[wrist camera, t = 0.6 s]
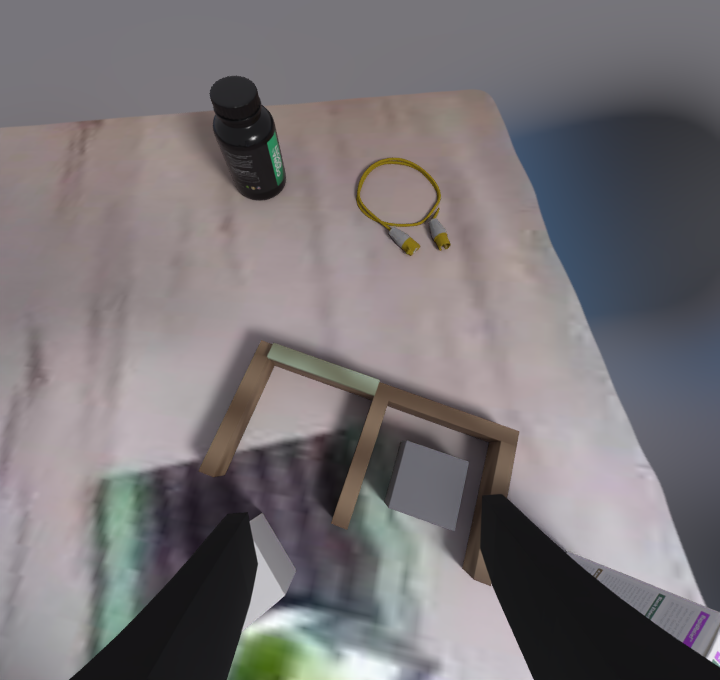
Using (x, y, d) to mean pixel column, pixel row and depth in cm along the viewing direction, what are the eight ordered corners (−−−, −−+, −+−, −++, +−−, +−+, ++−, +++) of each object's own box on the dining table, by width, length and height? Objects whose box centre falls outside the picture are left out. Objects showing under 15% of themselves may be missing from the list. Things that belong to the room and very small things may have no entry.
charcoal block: (442, 522, 33) (454, 531, 29) (384, 501, 33) (388, 507, 29) (455, 461, 35) (469, 461, 31) (400, 441, 35) (406, 440, 31)
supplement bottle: (296, 186, 46) (279, 96, 34) (253, 210, 44) (221, 125, 33) (269, 155, 47) (244, 59, 36) (226, 177, 46) (186, 85, 34)
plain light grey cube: (206, 555, 31) (175, 577, 25) (262, 512, 32) (244, 524, 27) (239, 618, 30) (214, 656, 24) (296, 570, 31) (285, 595, 25)
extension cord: (353, 256, 43) (354, 247, 41) (358, 162, 48) (358, 149, 46) (448, 260, 43) (453, 251, 41) (442, 166, 48) (446, 154, 46)
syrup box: (527, 595, 31) (671, 706, 17) (567, 547, 32) (728, 614, 19) (577, 653, 30) (775, 824, 16) (616, 601, 31) (828, 715, 17)
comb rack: (477, 574, 31) (493, 588, 28) (210, 469, 33) (195, 471, 30) (505, 433, 36) (522, 430, 32) (268, 348, 38) (260, 337, 34)
